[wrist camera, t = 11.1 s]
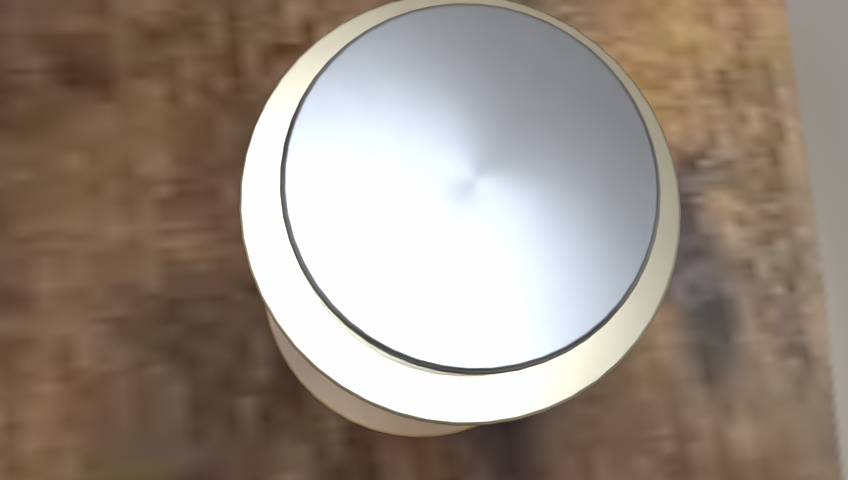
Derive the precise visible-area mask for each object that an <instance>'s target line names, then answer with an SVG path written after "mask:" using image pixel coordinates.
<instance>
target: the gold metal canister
mask: <svg viewBox="0 0 848 480" xmlns="http://www.w3.org/2000/svg"><path fill="white" fill-rule="evenodd" d="M680 216H681V208H680V197H679V186H678V180H677V175H676V171H675V166H674V162H673V157H672V154H671V151H670V148H669V146H668V143H667V140H666V137H665V135H664V132H663V129H662V127H661V125H660V123H659V122H658V120H657V118H656V116H655V114H654V112H653V110H652V108H651V106H650V104H649V103H648V101H647V100H646V98H645V97H644V95H643V94H642V92H641V91H640V89H639V88H638V86H637V85H636V83H635V82H634V81H633V80H632V79H631V78H630V77H629V75H628V74H627V73H626V72H625V71H624V70H623V68H622V67H621V66H620V65H619V64H618V63H617V62H616V61H615V60H614V59H613V58H612V57H611V56H610V55H609V54H607V53H606V52H605V51H604V50H603V49H602V48H601V47H600V46H599V45H598V44H596V43H595V42H593V41H592V40H591V39H589V38H588V37H586V36H585V35H584V34H582V33H581V32H579V31H578V30H577V29H575V28H573V27H572V26H570V25H568V24H566V23H564V22H562V21H561V20H559V19H557V18H555V17H553V16H551V15H549V14H547V13H544V12H542V11H539V10H537V9H534V8H532V7H529V6H527V5H524V4H520V3H516V2H512V1H509V0H398V1H394V2H390V3H387V4H384V5H382V6H379V7H376V8H373V9H371V10H368V11H365V12H363V13H361V14H359V15H357V16H355V17H353V18H351V19H349V20H348V21H346V22H344V23H342V24H340V25H339V26H337V27H336V28H334V29H333V30H331V31H330V32H328V33H327V34H325V35H324V36H323V37H321V38H320V39H318V40H317V41H316V42H315V43H314V44H313V45H312V46H310V47H309V48H308V49H307V50H306V51H305V52H304V53H303V54H301V55H300V56H299V57H298V58H297V59H296V60H295V62H294V63H293V64H292V65H291V66H290V67H289V69H288V70H287V71H286V72H285V73H284V74H283V76H282V77H281V78H280V79H279V81H278V82H277V84H276V85H275V87H274V89H273V90H272V92H271V93H270V95H269V96H268V98H267V99H266V101H265V103H264V105H263V107H262V109H261V111H260V113H259V115H258V117H257V120H256V122H255V124H254V126H253V128H252V132H251V135H250V138H249V141H248V144H247V148H246V151H245V154H244V160H243V166H242V172H241V178H240V187H239V218H240V227H241V236H242V243H243V247H244V251H245V255H246V259H247V263H248V267H249V270H250V273H251V275H252V278H253V280H254V283H255V285H256V288H257V290H258V293H259V295H260V297H261V299H262V301H263V303H264V304H265V306H266V308H267V310H268V312H269V313H270V315H271V317H272V319H273V320H274V322H275V324H276V325H277V326H278V328H279V329H280V330H281V332H282V333H283V334H284V335H285V337H286V338H287V339H288V341H289V342H290V343H291V345H292V346H293V347H294V348H295V349H296V350H297V351H298V352H299V353H300V354H301V355H302V356H303V357H304V358H305V359H306V360H307V361H308V362H309V363H310V364H311V365H312V366H313V367H314V368H315V369H316V370H317V371H318V372H320V373H321V374H322V375H324V376H325V377H326V378H328V379H329V380H330V381H332V382H333V383H334V384H336V385H337V386H338V387H340V388H341V389H343V390H345V391H346V392H348V393H350V394H352V395H353V396H355V397H357V398H359V399H361V400H362V401H364V402H366V403H368V404H370V405H373V406H375V407H378V408H380V409H383V410H385V411H388V412H390V413H393V414H395V415H399V416H403V417H407V418H411V419H415V420H419V421H423V422H427V423H436V424H445V425H454V426H468V425H490V424H497V423H503V422H509V421H515V420H519V419H523V418H526V417H529V416H532V415H536V414H539V413H542V412H545V411H548V410H550V409H552V408H554V407H556V406H558V405H561V404H563V403H565V402H567V401H569V400H571V399H573V398H575V397H576V396H578V395H580V394H581V393H583V392H584V391H586V390H587V389H589V388H590V387H592V386H593V385H595V384H597V383H598V382H599V381H600V380H601V379H603V378H604V377H605V376H606V375H607V374H608V373H610V372H611V371H612V370H613V369H614V368H615V367H616V366H618V365H619V364H620V363H621V362H622V360H623V359H624V358H625V357H626V356H627V355H628V354H629V352H630V351H631V350H632V349H633V348H634V347H635V346H636V345H637V343H638V342H639V341H640V339H641V338H642V336H643V335H644V333H645V332H646V330H647V329H648V327H649V325H650V324H651V322H652V321H653V319H654V318H655V316H656V313H657V311H658V309H659V307H660V305H661V303H662V301H663V299H664V297H665V295H666V292H667V289H668V286H669V283H670V280H671V277H672V273H673V270H674V267H675V262H676V256H677V251H678V245H679V239H680Z"/></svg>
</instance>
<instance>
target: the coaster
mask: <svg viewBox="0 0 848 480" xmlns="http://www.w3.org/2000/svg"><path fill="white" fill-rule="evenodd" d="M264 306H265V304H264ZM265 311H266V315H267V319H268V323H269V327H270V330H271V333H272V335H273V338H274V340H275V343H276V345H277V348H278V350H279V351H280V353H281V355H282V357H283V358H284V360H285V362H286V364H287V366H288V367H289V368H290V370H291V371H292V372H293V374H294V375H295V376H296V378H297V379H298V380H299V382H300V383H301V384H302V385H303V386H304V387H305V388H306V389H307V390H308V391H309V392H310V393H311V394H312V395H313V396H314V397H315V398H316V399H317V400H319V401H320V402H321V403H323V404H324V405H325V406H327V407H328V408H329V409H330V410H332V411H333V412H335V413H337V414H338V415H340V416H342V417H344V418H345V419H347V420H349V421H351V422H353V423H356V424H358V425H361V426H363V427H366V428H368V429H370V430H374V431H378V432H382V433H386V434H390V435H397V436H406V437H436V436H442V435H448V434H454V433H458V432H461V431H464V430H468V429H471V428H474V427H477V426H479V425H468V426H454V425H445V424H436V423H427V422H423V421H419V420H415V419H411V418H407V417H403V416H399V415H395V414H393V413H390V412H388V411H385V410H383V409H380V408H378V407H375V406H373V405H370V404H368V403H366V402H364V401H362V400H361V399H359V398H357V397H355V396H353V395H352V394H350V393H348V392H346V391H345V390H343V389H341V388H340V387H338V386H337V385H336V384H334V383H333V382H332V381H330V380H329V379H328V378H326V377H325V376H324V375H322V374H321V373H320V372H318V371H317V370H316V369H315V368H314V367H313V366H312V365H311V364H310V363H309V362H308V361H307V360H306V359H305V358H304V357H303V356H302V355H301V354H300V353H299V352H298V351H297V350H296V349H295V348H294V347H293V346H292V345H291V343H290V342H289V341H288V339H287V338H286V337H285V335H284V334H283V333H282V332H281V330H280V329H279V328H278V326H277V325H276V324H275V322H274V320H273V319H272V317H271V315H270V313H269V312H268V310H267V308H266V306H265Z"/></svg>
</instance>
